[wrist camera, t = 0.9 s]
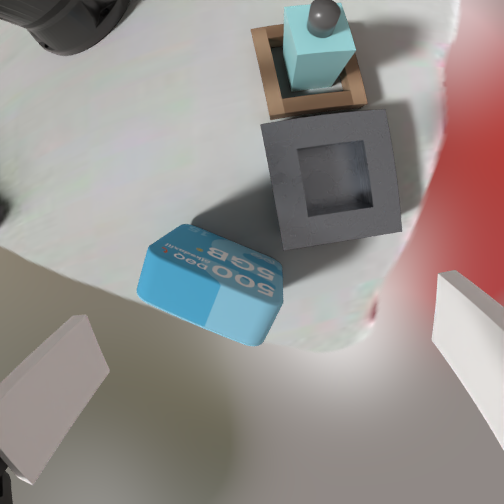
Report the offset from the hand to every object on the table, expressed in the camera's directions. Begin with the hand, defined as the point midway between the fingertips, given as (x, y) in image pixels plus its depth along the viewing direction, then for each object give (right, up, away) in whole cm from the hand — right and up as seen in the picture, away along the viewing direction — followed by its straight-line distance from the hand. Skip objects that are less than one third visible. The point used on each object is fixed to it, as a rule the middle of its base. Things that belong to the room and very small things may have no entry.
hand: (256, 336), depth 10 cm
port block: (+8, +11, +22) cm, 26 cm away
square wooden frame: (+6, +22, +19) cm, 30 cm away
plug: (+6, +22, +19) cm, 30 cm away
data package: (-3, +2, +26) cm, 26 cm away
